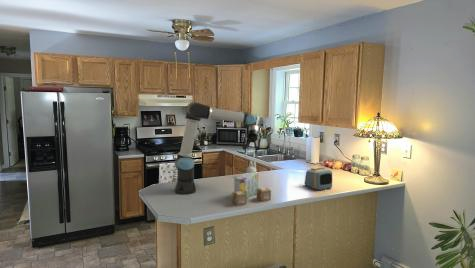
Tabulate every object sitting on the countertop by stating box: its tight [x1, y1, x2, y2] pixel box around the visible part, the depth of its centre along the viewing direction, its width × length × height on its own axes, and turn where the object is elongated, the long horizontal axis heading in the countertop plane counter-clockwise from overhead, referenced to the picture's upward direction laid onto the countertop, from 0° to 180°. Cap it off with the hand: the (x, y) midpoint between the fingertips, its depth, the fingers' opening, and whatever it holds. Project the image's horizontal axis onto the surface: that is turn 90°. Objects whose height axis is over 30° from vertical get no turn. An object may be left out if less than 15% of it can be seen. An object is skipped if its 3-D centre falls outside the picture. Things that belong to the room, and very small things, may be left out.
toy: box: [240, 160, 257, 176], centre depth 260 cm, size 10×17×15 cm, turn 137°
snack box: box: [233, 172, 259, 198], centre depth 215 cm, size 21×6×15 cm, turn 141°
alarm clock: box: [304, 166, 333, 191], centre depth 242 cm, size 16×16×16 cm
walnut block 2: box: [256, 187, 272, 202], centre depth 210 cm, size 7×7×7 cm
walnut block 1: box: [231, 191, 248, 207], centre depth 201 cm, size 7×7×7 cm
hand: (249, 156), depth 226 cm, fingers open, 5 cm apart
